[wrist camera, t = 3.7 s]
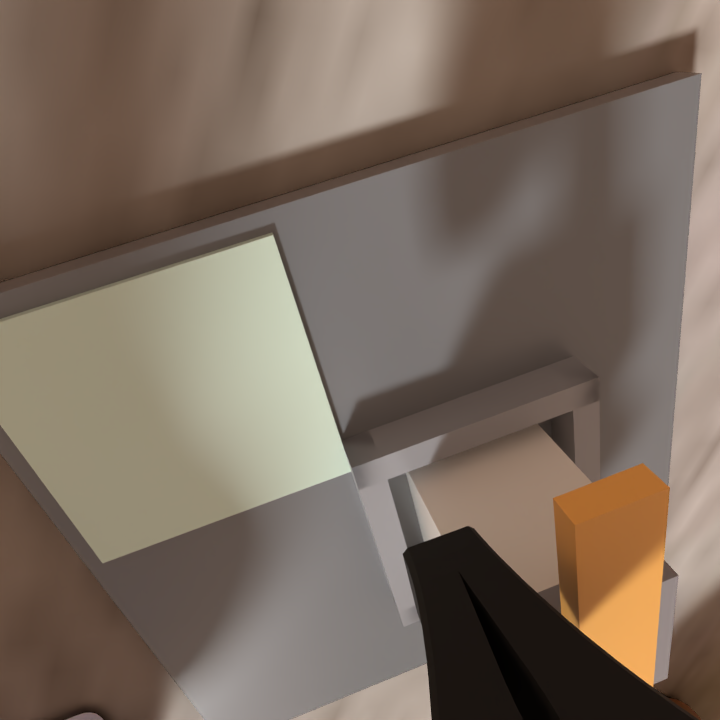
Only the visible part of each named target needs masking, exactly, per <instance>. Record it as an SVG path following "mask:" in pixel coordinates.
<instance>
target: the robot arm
mask: <svg viewBox="0 0 720 720" xmlns="http://www.w3.org/2000/svg"><path fill="white" fill-rule="evenodd" d="M403 558H404V562H405V566H406V570H407V574H408V578H409V582H410V586H411V590H412V594H413V598H414V602H415V606H416V610H417V614H418V616H419V619H420V622H421V625H422V630H423V638H424V645H425V652H426V659H427V667H428V677H429V690H430V703H431V715H432V720H699V719H698V718H696V717H695V716H693V715H692V714H690V713H689V712H687V711H686V710H684V709H683V708H682V707H680V706H679V705H677V704H676V703H674V702H673V701H672V700H670V699H669V698H667V697H666V696H665V695H663V694H662V693H660V692H659V691H658V690H656V689H655V688H653V687H652V686H651V685H649V684H648V683H646V682H645V681H644V680H642V679H641V678H640V677H638V676H637V675H636V674H634V673H633V672H632V671H630V670H629V669H628V668H627V667H625V666H624V665H623V664H621V663H620V662H619V661H617V660H616V659H615V658H614V657H612V656H611V655H610V654H609V653H607V652H606V651H605V650H604V649H602V648H601V647H600V646H599V645H597V644H596V643H595V642H594V641H592V640H591V639H590V638H589V637H587V636H586V635H585V634H584V633H583V632H582V631H580V630H579V629H578V628H577V627H576V626H574V625H573V624H572V623H571V622H570V621H568V620H567V619H566V618H565V617H564V616H563V615H562V614H561V613H559V612H558V611H557V610H556V609H555V608H554V607H553V606H552V605H550V604H549V603H548V602H547V601H546V600H545V599H544V598H543V597H541V596H540V595H539V594H538V593H537V592H536V591H535V590H534V589H533V588H532V587H530V586H529V585H528V584H527V583H526V582H525V581H524V580H523V579H522V578H521V577H520V576H519V575H518V574H517V573H516V572H515V571H514V570H513V569H512V568H511V567H510V566H509V565H508V564H507V563H506V562H505V561H504V560H503V559H502V558H501V557H500V556H499V555H498V554H497V553H496V552H495V551H494V550H493V549H492V548H491V547H490V546H489V545H488V543H487V542H486V541H485V540H484V539H483V538H482V537H481V536H480V535H479V534H478V532H477V531H476V530H475V529H474V528H472V527H470V526H466V527H463V528H461V529H458V530H455V531H452V532H450V533H447V534H444V535H441V536H439V537H436V538H433V539H430V540H428V541H425V542H422V543H419V544H417V545H414V546H411V547H409V548H407V549H406V550H405V552H404V553H403ZM66 720H103V719H102V718H101V717H100V716H99V715H97V714H96V713H91V712H90V713H82V714H79V715H76V716H74V717H71V718H69V719H66Z"/></svg>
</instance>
